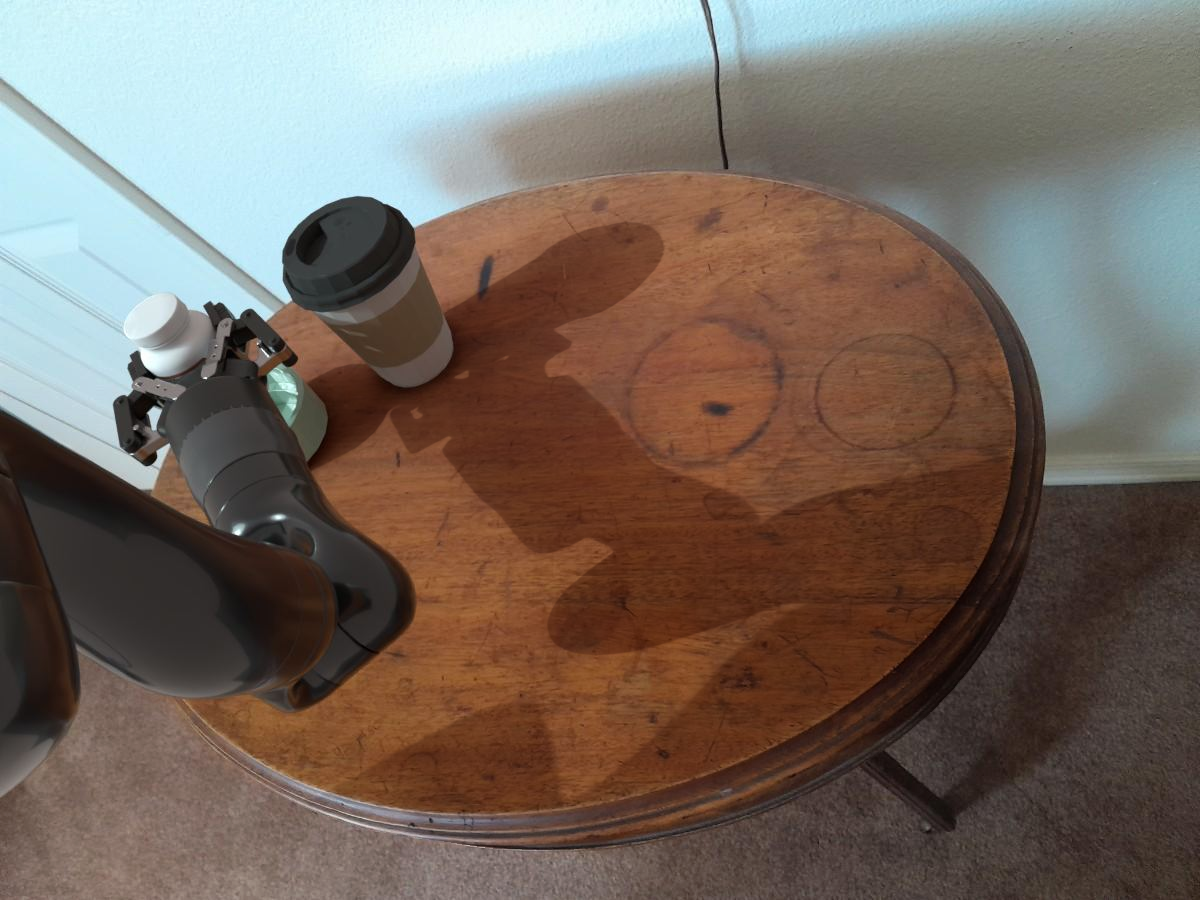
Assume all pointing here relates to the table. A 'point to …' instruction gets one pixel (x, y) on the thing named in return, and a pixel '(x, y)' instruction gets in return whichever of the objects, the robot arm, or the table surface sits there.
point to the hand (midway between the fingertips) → (177, 335)
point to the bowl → (299, 407)
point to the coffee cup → (369, 287)
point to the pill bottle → (170, 336)
